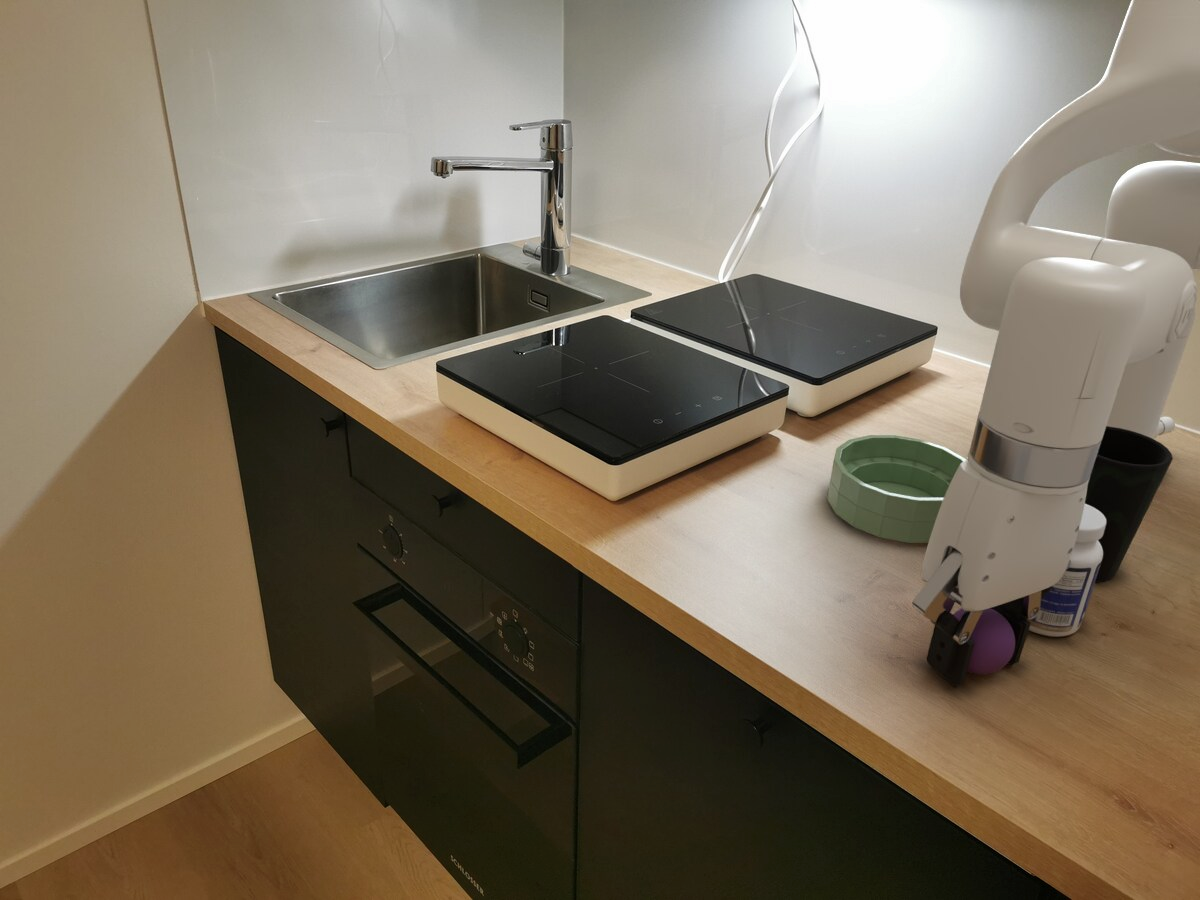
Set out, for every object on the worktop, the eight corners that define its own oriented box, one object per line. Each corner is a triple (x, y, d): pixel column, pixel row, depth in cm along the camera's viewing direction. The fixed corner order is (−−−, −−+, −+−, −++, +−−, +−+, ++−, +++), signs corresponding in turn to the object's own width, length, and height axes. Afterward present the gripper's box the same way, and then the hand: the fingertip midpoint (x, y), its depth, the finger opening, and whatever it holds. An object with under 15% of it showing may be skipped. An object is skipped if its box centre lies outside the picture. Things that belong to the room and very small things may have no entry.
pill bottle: (1031, 589, 78) (1062, 487, 73) (1094, 625, 74) (1130, 520, 69) (989, 609, 75) (1018, 505, 70) (1051, 648, 71) (1087, 540, 66)
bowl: (899, 468, 97) (908, 426, 95) (997, 529, 86) (1009, 483, 84) (800, 492, 91) (806, 448, 89) (891, 560, 81) (901, 512, 79)
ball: (969, 637, 72) (984, 585, 69) (1021, 677, 68) (1038, 623, 65) (922, 654, 70) (935, 601, 67) (972, 696, 66) (988, 641, 63)
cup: (1141, 595, 78) (1187, 471, 72) (1046, 582, 79) (1084, 459, 73) (1114, 547, 84) (1154, 430, 79) (1027, 535, 86) (1061, 420, 80)
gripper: (1071, 407, 67) (1011, 607, 75) (895, 447, 60) (850, 663, 68) (1167, 450, 61) (1090, 662, 69) (983, 500, 54) (923, 730, 62)
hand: (972, 661), depth 68 cm, fingers closed on ball, 4 cm apart
